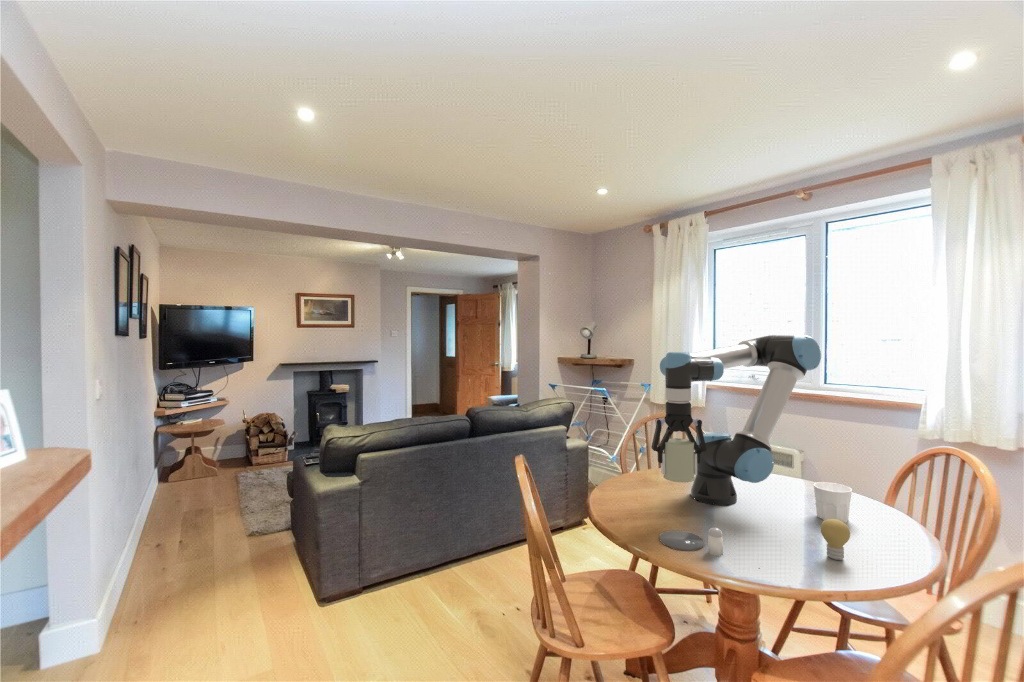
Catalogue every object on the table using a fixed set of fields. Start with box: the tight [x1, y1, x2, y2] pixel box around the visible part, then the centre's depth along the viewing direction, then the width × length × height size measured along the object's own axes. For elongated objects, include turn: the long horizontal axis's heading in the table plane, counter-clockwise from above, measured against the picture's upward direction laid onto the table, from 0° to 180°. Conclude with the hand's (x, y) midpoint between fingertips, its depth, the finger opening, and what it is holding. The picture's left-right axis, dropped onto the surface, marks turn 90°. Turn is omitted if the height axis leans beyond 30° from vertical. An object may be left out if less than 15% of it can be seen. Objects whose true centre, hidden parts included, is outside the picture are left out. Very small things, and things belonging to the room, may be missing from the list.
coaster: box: [659, 530, 705, 552], centre depth 135 cm, size 12×12×1 cm
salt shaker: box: [707, 527, 724, 557], centre depth 127 cm, size 4×4×7 cm
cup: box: [813, 481, 853, 524], centre depth 150 cm, size 10×10×10 cm
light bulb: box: [820, 519, 851, 561], centre depth 124 cm, size 6×6×10 cm
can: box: [662, 437, 695, 483], centre depth 148 cm, size 9×9×12 cm
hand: (678, 473), depth 148 cm, fingers closed on can, 9 cm apart
